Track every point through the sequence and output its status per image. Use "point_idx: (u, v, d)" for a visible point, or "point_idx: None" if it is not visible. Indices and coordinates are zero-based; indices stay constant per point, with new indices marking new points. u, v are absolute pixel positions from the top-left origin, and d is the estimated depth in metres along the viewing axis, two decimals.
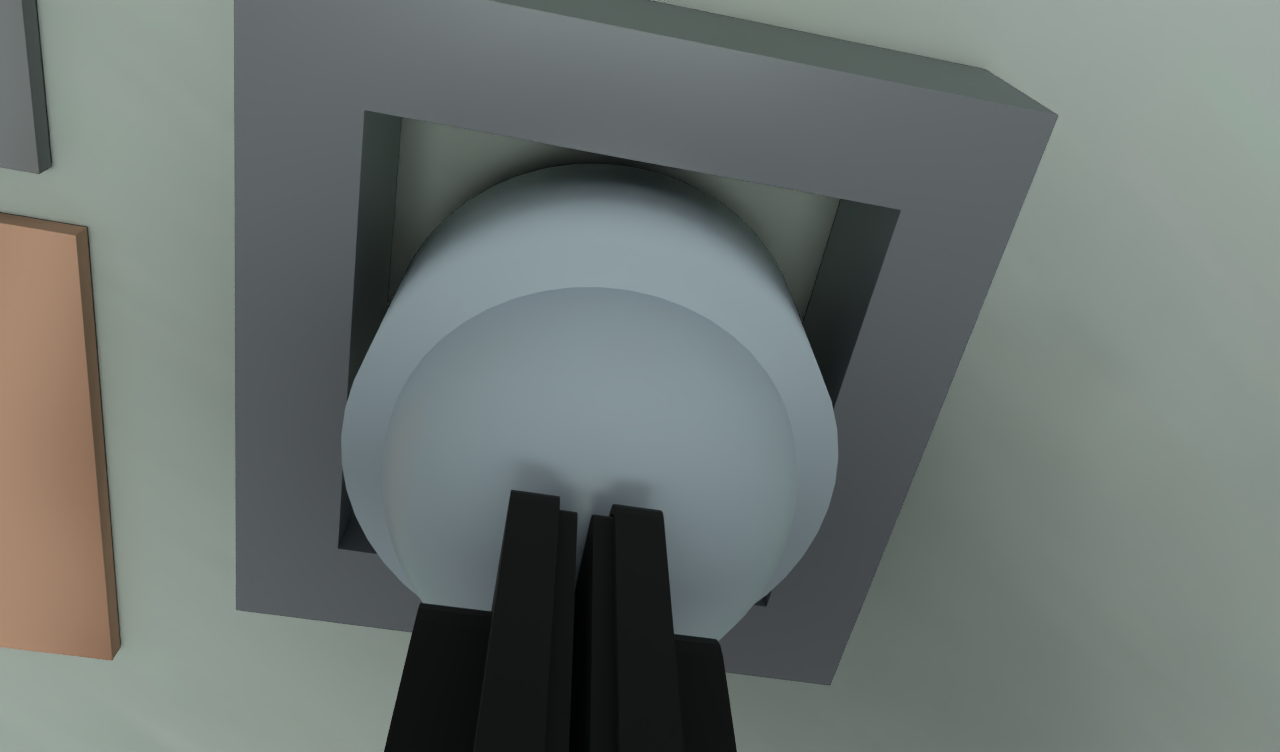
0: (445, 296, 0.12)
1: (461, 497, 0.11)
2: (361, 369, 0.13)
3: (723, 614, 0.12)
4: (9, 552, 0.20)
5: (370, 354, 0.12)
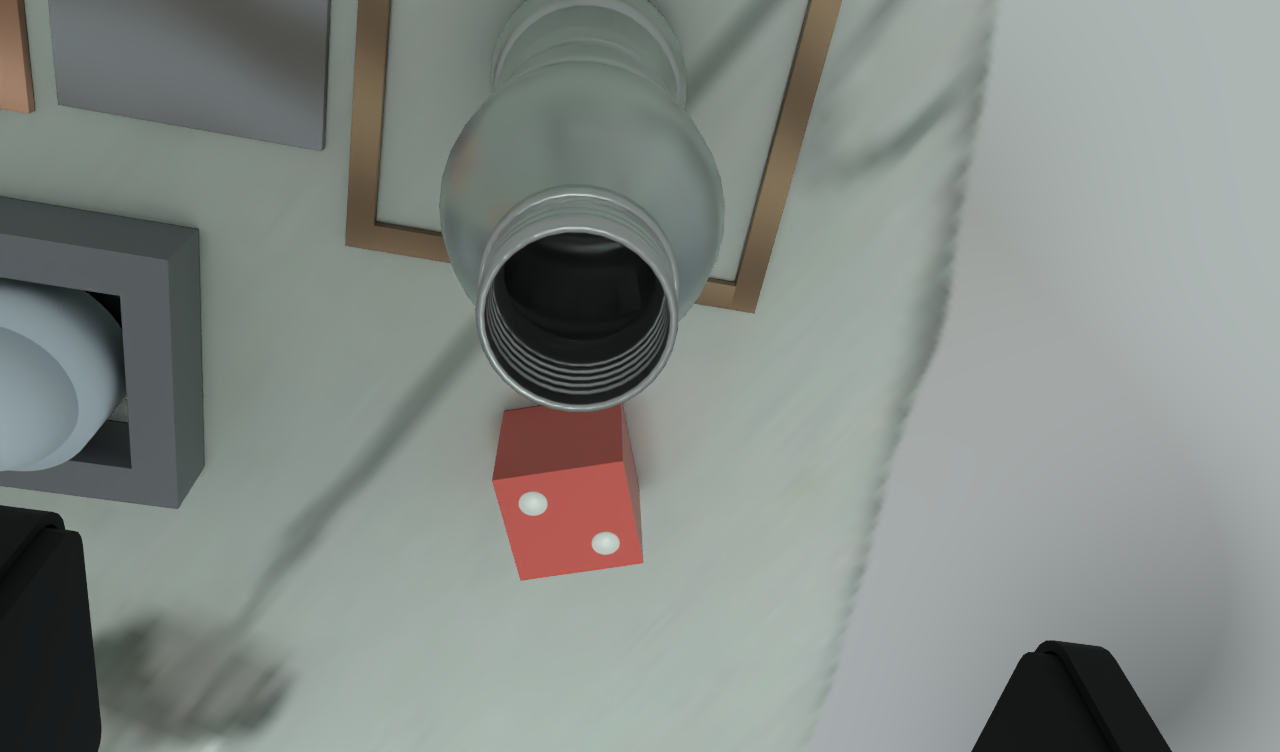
0: (57, 348, 0.34)
1: None
2: (17, 317, 0.33)
3: None
4: None
5: (25, 322, 0.33)
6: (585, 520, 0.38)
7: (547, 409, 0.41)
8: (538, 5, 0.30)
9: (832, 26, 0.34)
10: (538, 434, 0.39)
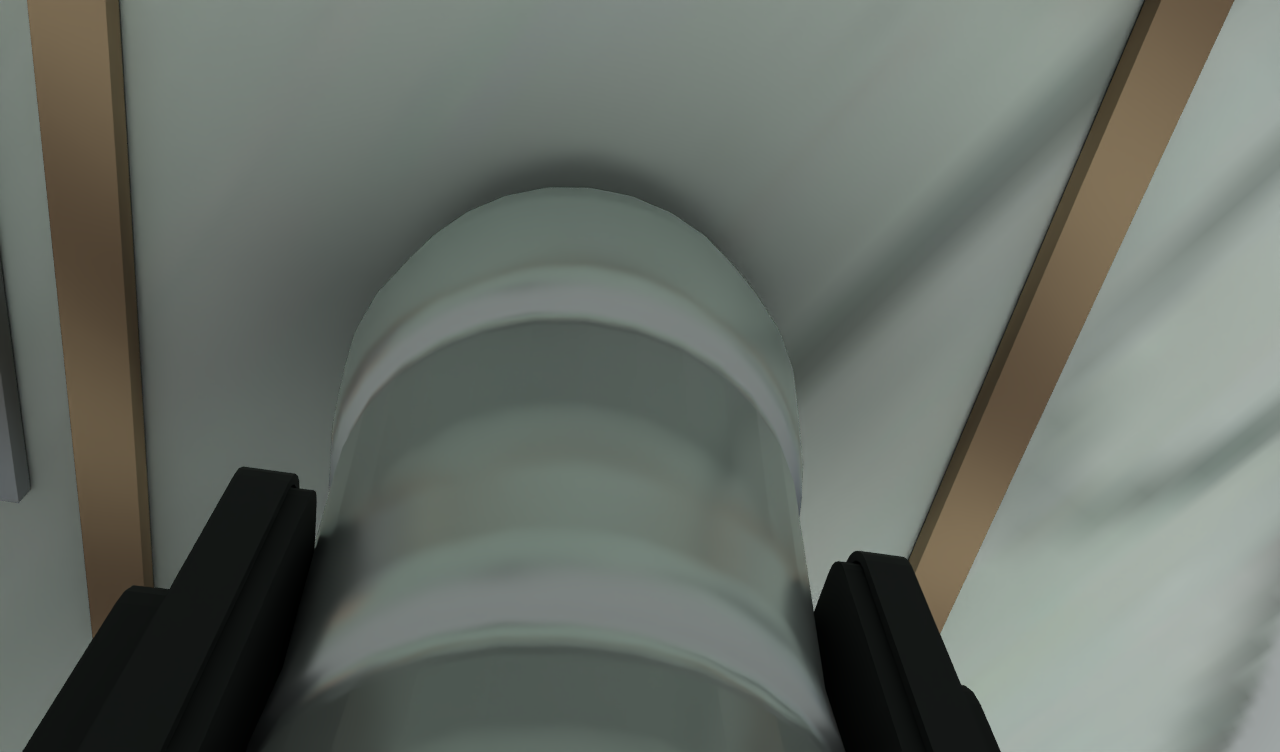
0: None
1: None
2: None
3: None
4: None
5: None
6: None
7: None
8: (435, 296, 0.11)
9: (1106, 264, 0.15)
10: None
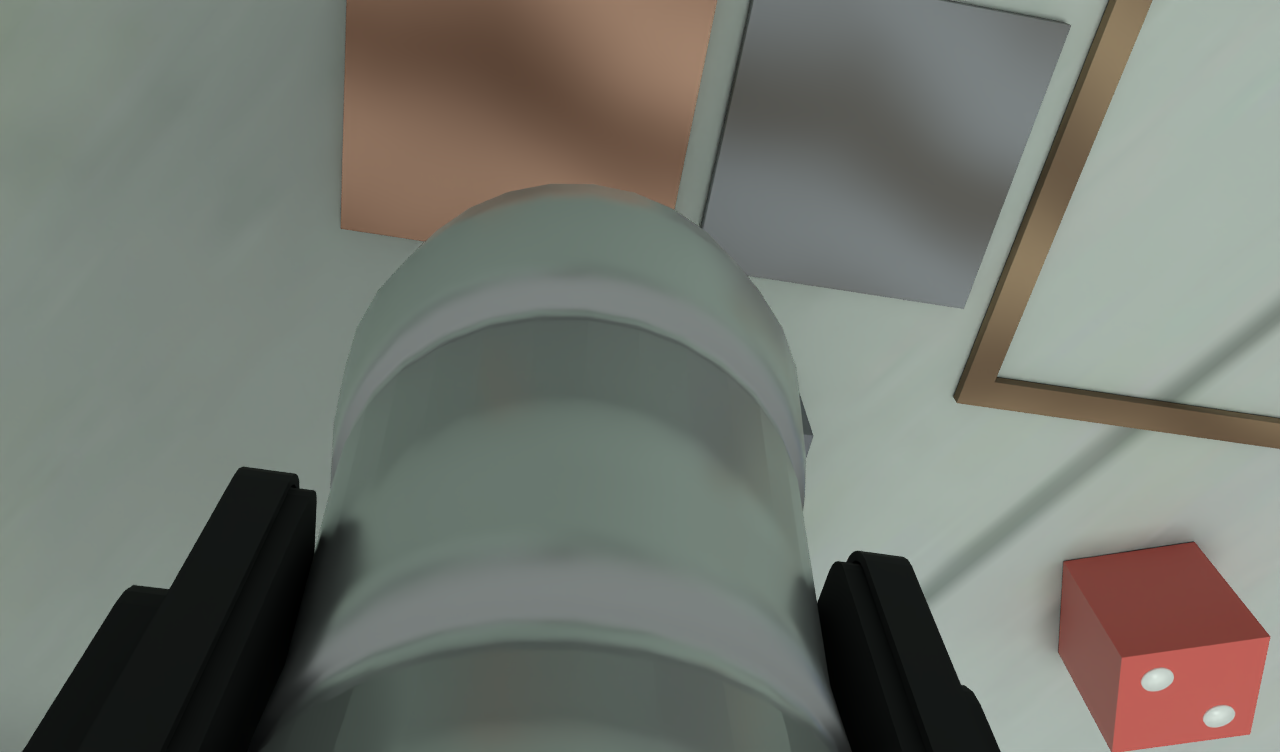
0: None
1: None
2: None
3: None
4: (434, 185, 0.29)
5: None
6: (1205, 695, 0.35)
7: (1117, 560, 0.38)
8: (437, 292, 0.11)
9: None
10: (1131, 595, 0.36)
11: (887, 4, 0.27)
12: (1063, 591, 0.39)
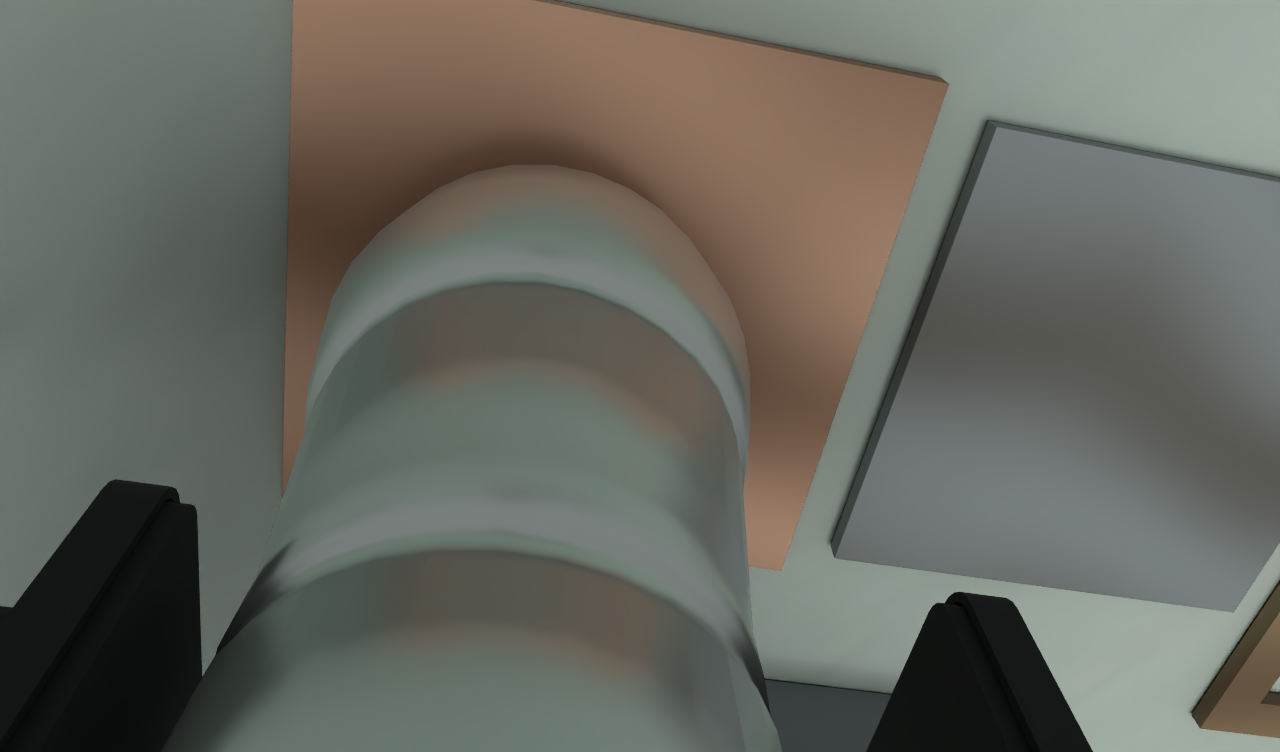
0: None
1: None
2: None
3: None
4: None
5: None
6: None
7: None
8: (401, 261, 0.12)
9: None
10: None
11: (1197, 188, 0.16)
12: None
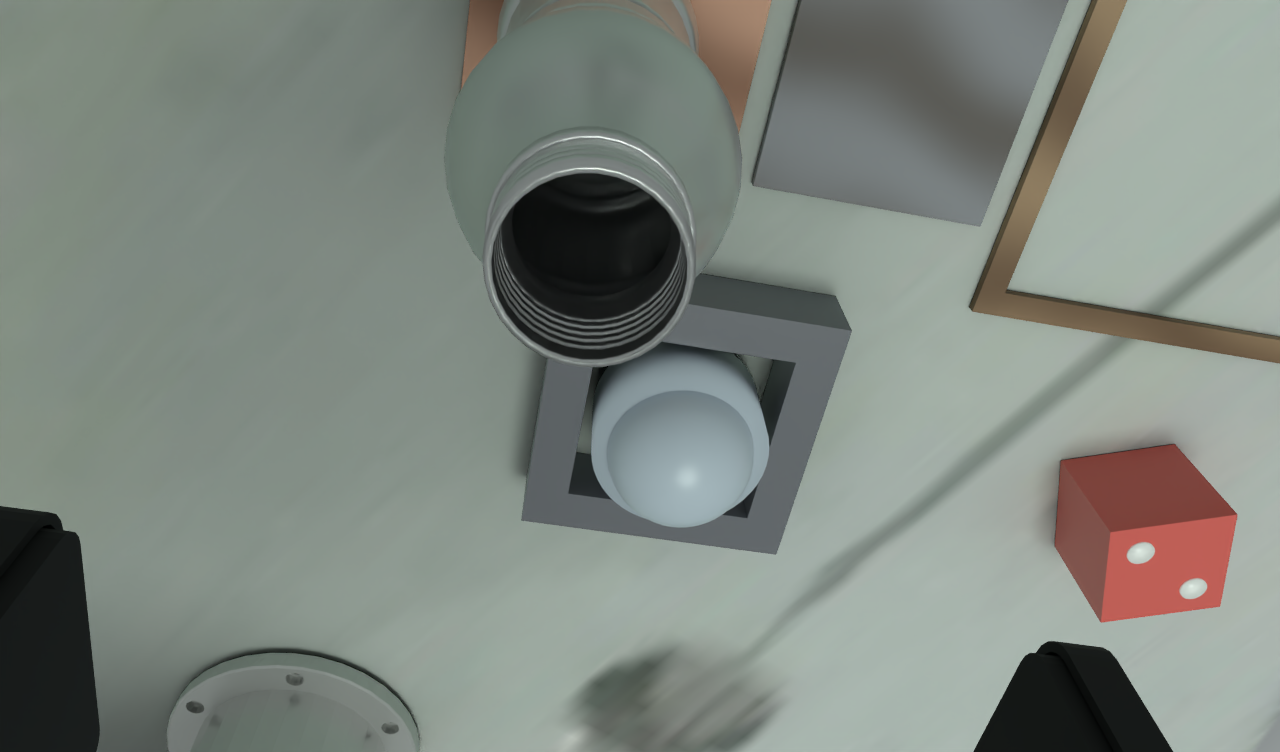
0: (753, 413, 0.36)
1: (717, 454, 0.35)
2: (727, 386, 0.36)
3: (668, 523, 0.36)
4: None
5: (732, 390, 0.36)
6: (1181, 568, 0.40)
7: (1107, 459, 0.43)
8: None
9: None
10: (1119, 485, 0.42)
11: None
12: (1060, 488, 0.44)
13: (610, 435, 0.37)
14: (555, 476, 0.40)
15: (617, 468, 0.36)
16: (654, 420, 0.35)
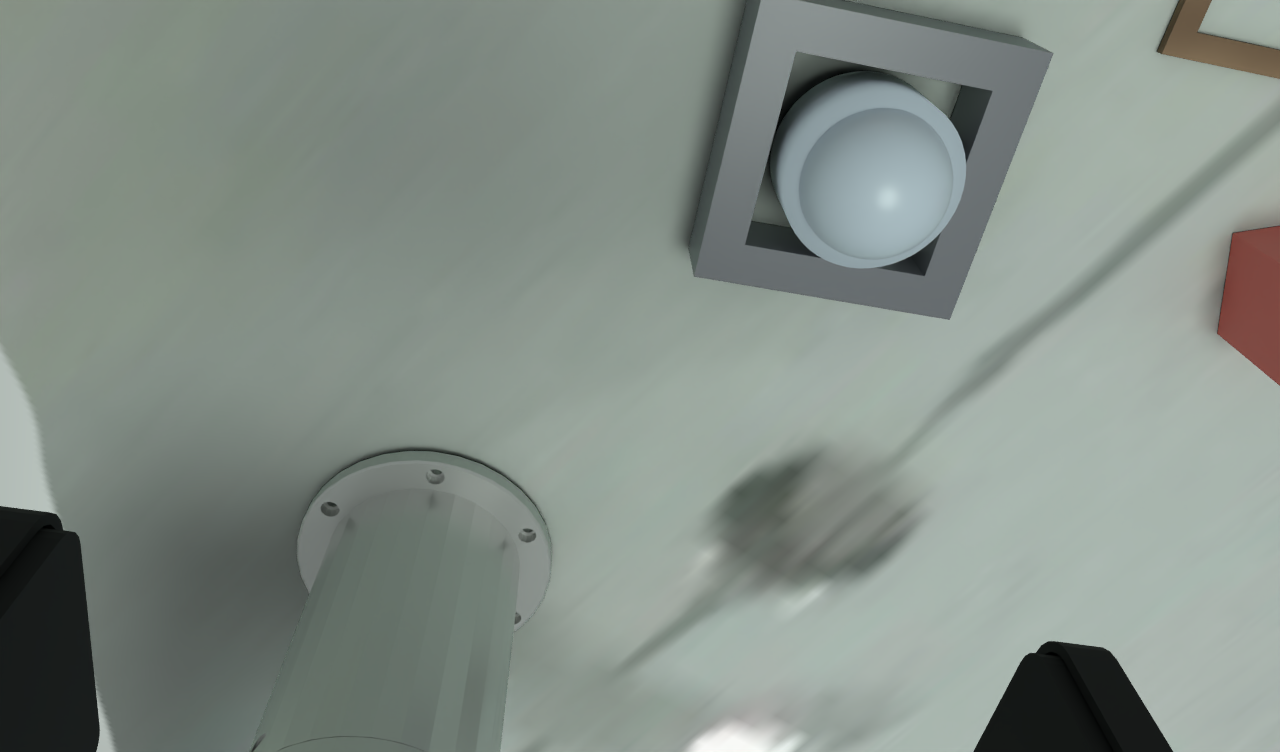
0: (953, 136, 0.35)
1: (927, 163, 0.34)
2: (930, 103, 0.35)
3: (869, 247, 0.35)
4: None
5: (935, 107, 0.35)
6: None
7: None
8: None
9: None
10: None
11: None
12: (1230, 264, 0.43)
13: (805, 161, 0.36)
14: (733, 223, 0.39)
15: (818, 187, 0.35)
16: (860, 131, 0.34)
